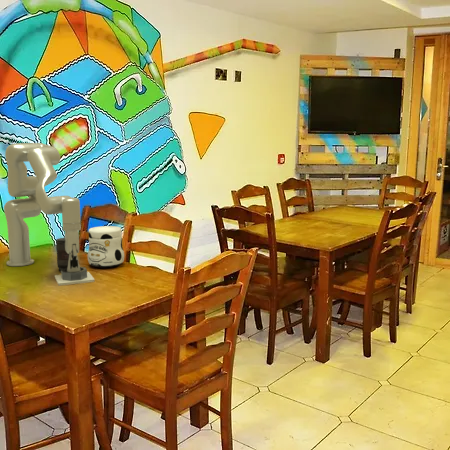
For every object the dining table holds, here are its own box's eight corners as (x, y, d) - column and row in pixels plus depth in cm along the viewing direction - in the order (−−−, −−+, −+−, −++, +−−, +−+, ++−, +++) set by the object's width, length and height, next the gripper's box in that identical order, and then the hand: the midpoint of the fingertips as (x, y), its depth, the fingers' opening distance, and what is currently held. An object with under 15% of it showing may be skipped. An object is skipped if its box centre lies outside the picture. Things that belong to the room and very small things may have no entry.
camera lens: (78, 268, 261) (76, 237, 258) (71, 272, 253) (70, 240, 250) (61, 267, 261) (59, 236, 259) (54, 272, 253) (52, 240, 251)
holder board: (54, 277, 245) (54, 275, 244) (89, 274, 250) (88, 271, 250) (58, 285, 232) (58, 283, 232) (94, 281, 238) (94, 279, 238)
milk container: (87, 270, 256) (85, 232, 253) (88, 262, 273) (87, 226, 270) (124, 269, 260) (123, 231, 256) (124, 260, 276) (123, 225, 273)
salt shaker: (68, 275, 244) (67, 246, 241) (81, 274, 244) (80, 246, 242) (66, 278, 238) (64, 249, 236) (79, 278, 238) (78, 249, 236)
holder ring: (60, 275, 244) (60, 268, 243) (84, 273, 248) (84, 265, 247) (63, 281, 234) (63, 273, 234) (88, 279, 238) (88, 271, 238)
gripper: (60, 224, 243) (62, 264, 246) (65, 230, 228) (67, 273, 232) (77, 222, 246) (79, 262, 249) (83, 229, 231) (85, 271, 234)
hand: (73, 267), depth 240 cm, fingers closed on salt shaker, 3 cm apart
